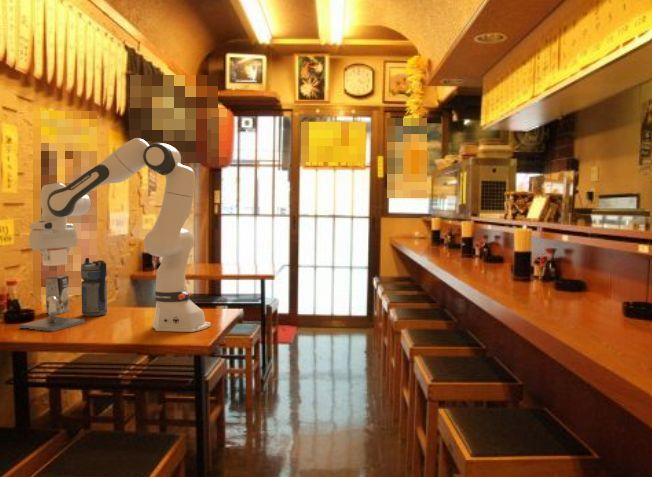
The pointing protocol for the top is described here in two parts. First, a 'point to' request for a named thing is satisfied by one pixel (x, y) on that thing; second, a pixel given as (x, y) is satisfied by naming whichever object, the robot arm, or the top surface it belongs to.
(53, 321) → the post stand
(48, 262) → the white cube
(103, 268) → the beverage bottle
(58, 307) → the coffee box
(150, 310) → the top surface
